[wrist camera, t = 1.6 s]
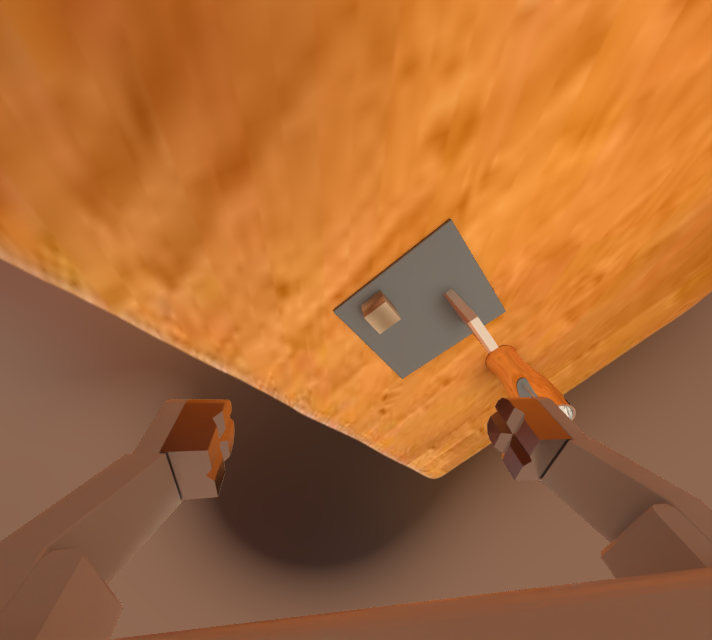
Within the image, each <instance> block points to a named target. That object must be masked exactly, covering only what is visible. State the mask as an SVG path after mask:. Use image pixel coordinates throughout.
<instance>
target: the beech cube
mask: <svg viewBox="0 0 712 640" xmlns="http://www.w3.org/2000/svg"><path fill="white" fill-rule="evenodd" d="M361 308H362V312H363V316H364V318H365V319H366V320H367V321H368V323H369V324H370V325H371V326H372V327H373V328H374V329H375V330H376V331H377V332H378V333H379V334H381V333H382V332H384V331H385V330H387V329H388V328H389V327H391V326H392V325H394V324H395V323H396V322H398V321H399V320H401V318H400V316H399V314H398V312H397V310H396V308H395V306H394V305H393V304H392V303H391V301H390V300H389V299H388V298H387V297H386V296H385V294H384V293H383V292H382V291H381V290H380V291H379V292H377V293H376V294H375V295H373V296H372V297H371V298H369V299H368V300H367V301H366V302H364V303H363V304H362V305H361Z"/></svg>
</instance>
